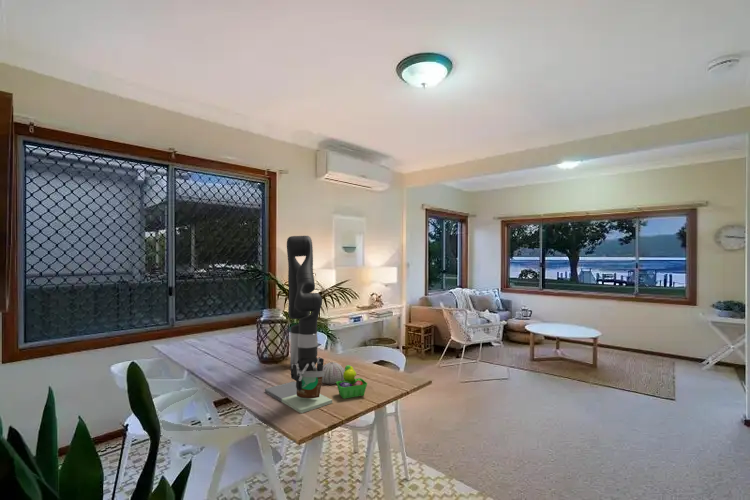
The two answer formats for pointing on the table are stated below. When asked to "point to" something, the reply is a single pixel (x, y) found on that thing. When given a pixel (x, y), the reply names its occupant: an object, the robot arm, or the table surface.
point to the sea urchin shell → (332, 373)
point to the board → (296, 398)
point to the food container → (310, 384)
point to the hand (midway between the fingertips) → (307, 387)
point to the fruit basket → (351, 384)
